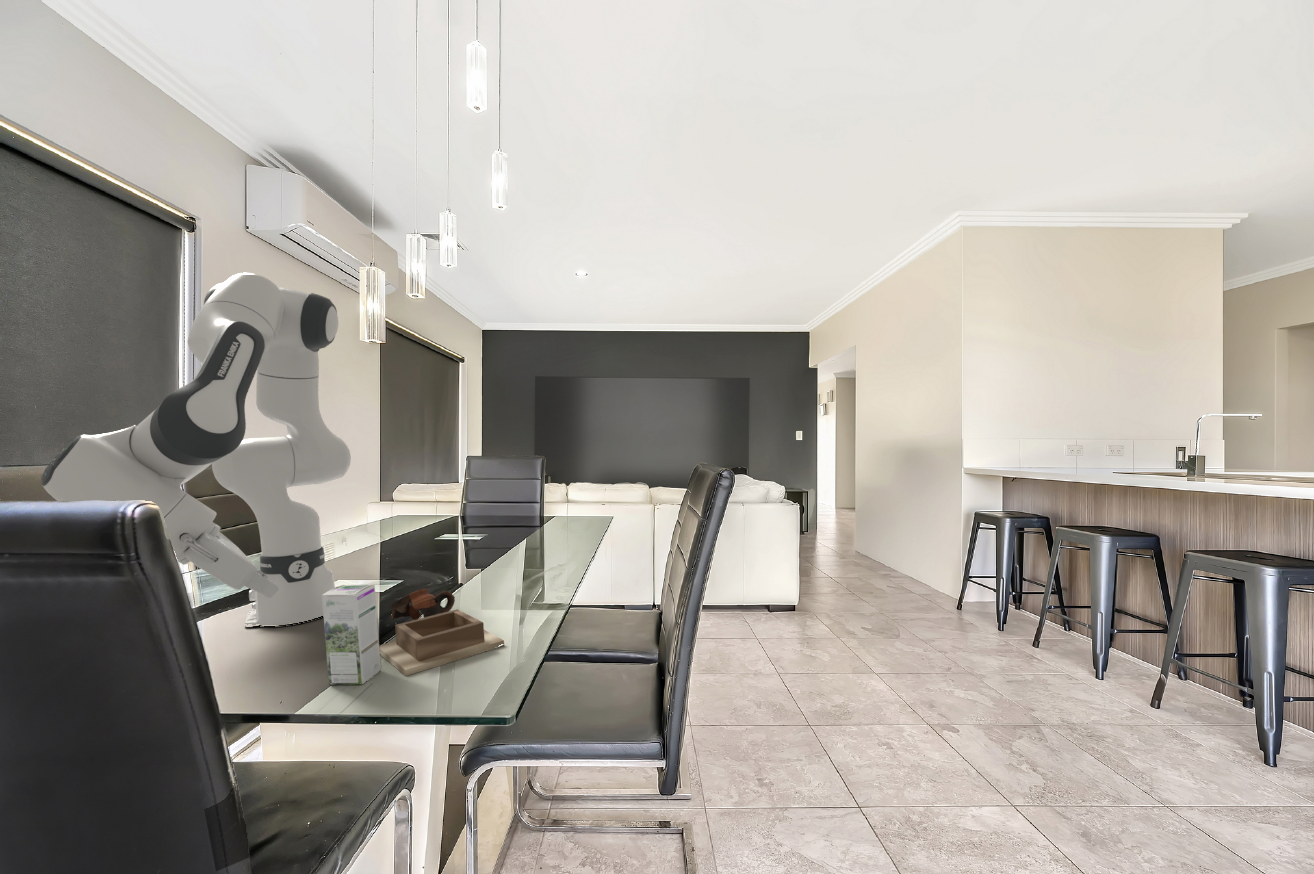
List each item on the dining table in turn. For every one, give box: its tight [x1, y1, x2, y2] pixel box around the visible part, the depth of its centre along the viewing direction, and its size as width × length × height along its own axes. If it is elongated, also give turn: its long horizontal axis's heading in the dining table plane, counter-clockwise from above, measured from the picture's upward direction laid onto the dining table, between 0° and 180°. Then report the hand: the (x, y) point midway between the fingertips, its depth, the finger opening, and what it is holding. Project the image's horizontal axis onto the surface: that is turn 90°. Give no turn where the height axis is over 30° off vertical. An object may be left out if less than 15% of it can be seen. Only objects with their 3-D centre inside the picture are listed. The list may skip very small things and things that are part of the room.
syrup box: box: [322, 583, 382, 686], centre depth 97 cm, size 6×6×14 cm
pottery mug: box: [390, 588, 456, 621], centre depth 123 cm, size 12×10×8 cm
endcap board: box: [379, 608, 505, 677], centre depth 108 cm, size 15×17×4 cm
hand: (269, 586), depth 90 cm, fingers open, 8 cm apart
